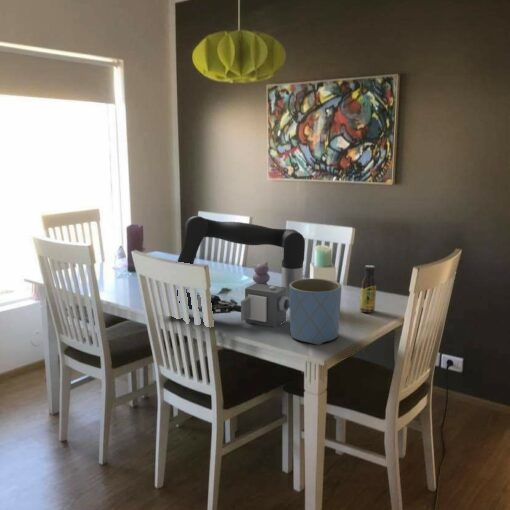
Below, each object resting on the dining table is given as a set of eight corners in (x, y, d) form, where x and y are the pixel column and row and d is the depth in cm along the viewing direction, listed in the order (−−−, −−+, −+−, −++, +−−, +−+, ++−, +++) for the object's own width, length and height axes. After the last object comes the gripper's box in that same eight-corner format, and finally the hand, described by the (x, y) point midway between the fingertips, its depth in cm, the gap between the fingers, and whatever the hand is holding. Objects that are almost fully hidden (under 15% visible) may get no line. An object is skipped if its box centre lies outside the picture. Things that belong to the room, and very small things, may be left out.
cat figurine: (256, 289, 270) (256, 265, 267) (250, 285, 277) (250, 262, 275) (272, 287, 273) (272, 264, 271) (266, 283, 280) (266, 260, 278)
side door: (241, 322, 216) (240, 298, 214) (248, 318, 222) (248, 294, 219) (259, 326, 212) (259, 301, 210) (266, 321, 218) (266, 297, 216)
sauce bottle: (367, 314, 232) (368, 268, 227) (356, 310, 237) (358, 265, 233) (378, 312, 235) (380, 266, 231) (367, 308, 240) (369, 263, 236)
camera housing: (245, 322, 223) (244, 286, 220) (255, 315, 231) (255, 281, 228) (282, 328, 215) (282, 292, 212) (291, 321, 223) (292, 286, 220)
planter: (308, 324, 220) (309, 275, 216) (349, 335, 208) (351, 284, 204) (278, 337, 206) (278, 285, 202) (320, 350, 194) (322, 295, 190)
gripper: (197, 298, 218) (235, 304, 210) (215, 290, 230) (251, 295, 222) (197, 316, 220) (235, 323, 212) (215, 307, 231) (251, 313, 223)
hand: (243, 309), depth 217 cm, fingers closed
